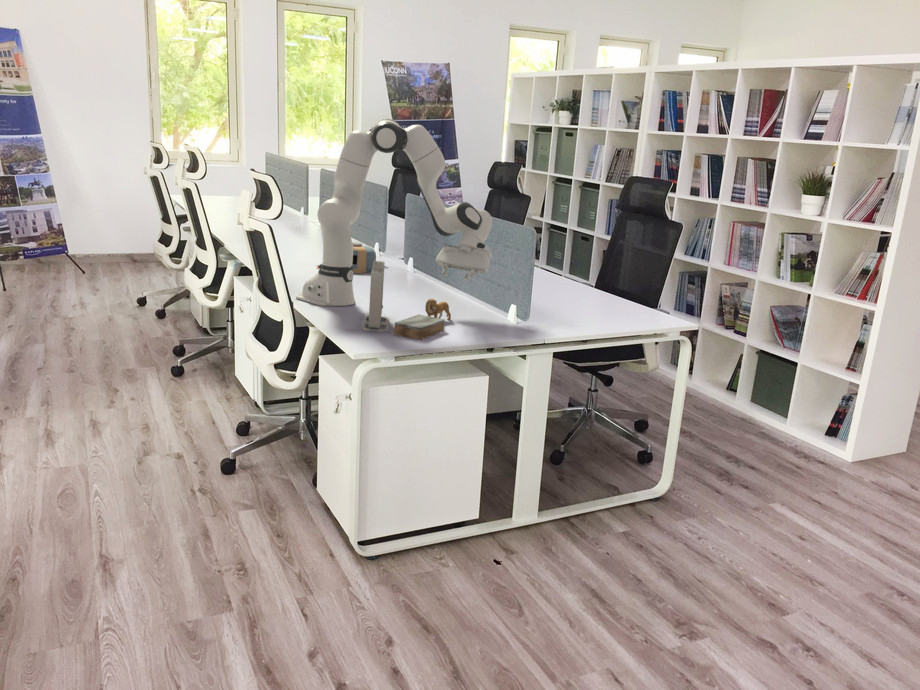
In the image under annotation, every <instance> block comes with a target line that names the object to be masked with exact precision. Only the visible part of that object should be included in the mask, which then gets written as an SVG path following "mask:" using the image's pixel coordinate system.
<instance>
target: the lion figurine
mask: <svg viewBox="0 0 920 690" xmlns="http://www.w3.org/2000/svg"><path fill="white" fill-rule="evenodd" d="M425 312H426V315H427V316H429V317H434V318H439V319H442V317H443V312H445V313H446V317H447V321H451V317H452V316H451V312H450V307H449V304H448V303H447V302H446V301H441V302H438V303H437V300H436V299H434V298H429V299H428V300H426V302H425ZM438 314H439V316H438Z"/></svg>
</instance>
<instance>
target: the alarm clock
mask: <svg viewBox="0 0 920 690" xmlns="http://www.w3.org/2000/svg"><path fill="white" fill-rule="evenodd" d="M352 243H353V274H354V273H355V274H366V273H369V272H372V267H373V262H374V261H377V254H376V251H375V249H373V248H372V247H370V246H367V245H363V244H362V243H361V242H356V241H355V242H353V241H352Z"/></svg>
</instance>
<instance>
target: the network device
mask: <svg viewBox="0 0 920 690" xmlns="http://www.w3.org/2000/svg"><path fill="white" fill-rule="evenodd" d="M370 272H371V273H370V287H369V290H370V291H369V309H368V311H369V312H368V315H367V316H363V320H362V321H363V322H362V326H361V329H362V330H363V331H366V332H376V333H377V332H378V333H382V332H383V333H384V332H388V331H389V327H390V318H389V317H387V316H386V317H385V316H382V313H383V308H384V305H383V299H384V281H385V279H384V278H385V260H384V261H383V260H376V261H374V262H373V267H372V271H370ZM382 320H385V321H382ZM366 326H368V328H367V327H366ZM381 327H385V328H381Z"/></svg>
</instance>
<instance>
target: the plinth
mask: <svg viewBox="0 0 920 690" xmlns="http://www.w3.org/2000/svg"><path fill="white" fill-rule="evenodd" d="M445 321H446V320H445V319H443V318H440V319H439V318H438V317H437V318H434V316H431V317H429V316H428V315H424V314H416V315H413V316H410V317H407V318H404V319H401V320H398V321H395V322H394V327H393V335H396V336H399V337H404V338H408V339H413V340H418V341H421V340H424V339H427V338H429V337H431V336H434V335H437V334H439V333H442V332H444V331H445Z"/></svg>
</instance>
